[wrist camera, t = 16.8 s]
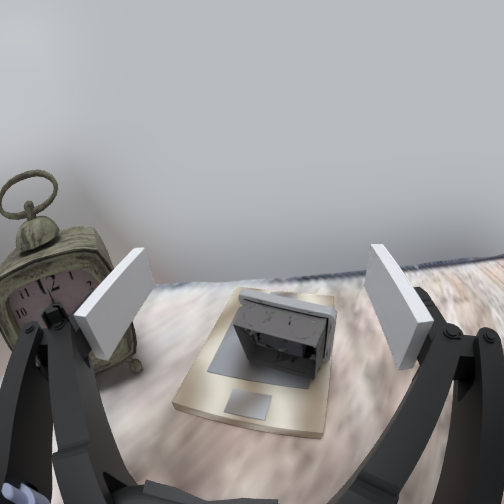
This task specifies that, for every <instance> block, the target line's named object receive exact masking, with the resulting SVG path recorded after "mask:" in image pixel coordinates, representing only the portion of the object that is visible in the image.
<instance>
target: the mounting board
mask: <svg viewBox="0 0 504 504" xmlns="http://www.w3.org/2000/svg"><path fill="white" fill-rule="evenodd" d="M243 289H245V288H244V287H236V289H235V291H234V292H233V294H232V296H231V298H230V300H229V301H228V303H227V305H226V307H225V308H224V310H223V312H222V314H221V315H220V317H219V319H218V321H217V323H216V324H215V326H214V328H213V330H212V331H211V333H210V335H209V337H208V338H207V340H206V342H205V344H204V345H203V347H202V349H201V351H200V353H199V354H198V356H197V358H196V360H195V361H194V363H193V365H192V367H191V368H190V370H189V372H188V374H187V375H186V377H185V379H184V381H183V382H182V384H181V386H180V388H179V389H178V391H177V393H176V395H175V396H174V398H173V400H172V404H173V405H174V407H175V409H177V410H180V411H183V412H187V413H190V414H193V415H196V416H200V417H203V418H207V419H210V420H214V421H218V422H222V423H226V424H230V425H234V426H239V427H243V428H248V429H253V430H258V431H264V432H270V433H276V434H282V435H289V436H297V437H306V438H316V439H321V436H322V434H323V429H324V422H325V414H326V406H327V398H328V388H329V378H330V367H331V357H330V360H328V361H322V362H321V365H320V369H319V370H318V372H317V374H316V377H315V379H314V380H312V379H309V378H305V377H301V376H297V375H294V374H290V373H286V372H283V371H279V370H276V369H273V368H269V367H266V366H263V365H260V364H256V363H253V362H250V361H249V360H250V358H251V357H250V358H249V360H248V359H247V357H246V354H245V352H244V350H243V347H242V345H241V343H240V340H239V338H238V336H237V333H236V331H235V329H234V326H233V324H234V322H235V320H236V318H237V316H238V315H239V311H240V308H241V307H242V305H241V304H240V302H239V299H238V296H239V294H240V292H241V291H242V290H243ZM247 289H251V290H255V291H260V292H264V293H268V294H273V295H277V296H282V297H286V298H291V299H296V300H300V301H305V302H310V303H315V304H319V305H324V306H329V307H333V308H334V296H326V295H314V294H303V293H292V292H282V291H272V290H262V289H253V288H247ZM245 330H246V329H245ZM277 351H278V350H277ZM331 353H332V352H331ZM278 357H279V352H278ZM278 357H277V360H278ZM290 357H291V355H289V354H286V353H283V356H282V360H284V361H288V360H289V358H290ZM296 358H297V357H295V358H294V360H295V359H296ZM294 360H293V361H292V364H293V362H294ZM310 360H311V359H310ZM275 361H276V360H275ZM315 362H316V360H315ZM268 364H269V363H268ZM311 366H312V365H311ZM293 369H294V368H293ZM294 370H295V369H294ZM301 373H303V372H301Z"/></svg>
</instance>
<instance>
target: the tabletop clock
mask: <svg viewBox="0 0 504 504" xmlns="http://www.w3.org/2000/svg"><path fill="white" fill-rule="evenodd" d="M35 176H39V177H44V178H46V179H48V180H50V181H51V182H52V183H53V186H54V191H53V194H52V195H51V196H50V197H49V199H47V200H46V201H45V202H44V203H42V204H41V205H38V206H36V207H34V205H33V202H32V201H27V202H26V203H25V204H24V209H25V211H23V212H20V213H9V212H6V211H4V210H3V208H2V204H1V202H2V198H3V196H4V194H5V192H6V191H7V190H8V189H9V188H10V187H11V186H12V185H13V184H15V183H17V182H19V181H21V180H24V179H27V178H30V177H35ZM57 191H58V184H57V182H56V180H55V178H54V177H53V176H52V175H51V174H50V173H48V172H46V171H42V170H31V171H27V172H24V173H21V174H19V175H16V176H15V177H13V178H12V179H10V180H9V181H8V182H7V183H6V184H5V185H4V186H3V187H2V189H1V191H0V213H1V214H2V215H3V216H4V217H6V218H8V219H15V220H19V219H24V218H27V221H26V222H24V223H23V224H22V225H21V227H20V229H19V230H18V233H17V237H16V248H15V249H14V250H13V251H11V252H10V253H9V254H8V255H7V256H6V258H5V259H4V260H3V262H2V264H1V265H0V332H1V334H2V336H3V338H4V340H5V342H6V343H7V345H8V347H9V348H10V350H11V351H13V348H14V346H15V343H16V341H17V338H18V336H19V333H20V331H21V329H22V327H23V326H24V325H25V324H26V323H28V322H31V321H37V322H38V323H39V325H40V327H41V328H47V326H46V324H45V323H44V321H43V319H42V317H41V314H42V312H43V311H44V309H46V308H47V307H48V306H50V305H52V304H56V303H58V304H62V305H63V307H64V309H65V312H66V314H67V316H68V317H69V316H70V314H71V313H72V312H73V311H74V310H75V309H76V307H77V306H78V305H79V304H81V302H82V300H83V299H85V297H86V296H87V295H88V294H89V293H90V292H91V291H92V290H94V289H95V288H97V287H98V286H99V285H100V284H101V283H102V282H103V281H104V279H105V278H106V277H107V276H108V275H109V274H110V273H111V272H112V271H113V270H114V267H113V265H112V262H111V260H110V257H109V254H108V251H107V249H106V247H105V245H104V243H103V241H102V239H101V238H100V236H99V235H98V233H97V232H96V231H95V229H94V228H91V227H83V226H81V227H72V228H67V229H63V230H60V229H59V228H58V226H57V225H56V223H55V222H54V221H53V220H52V219H50V218H49V217H47V216H38V217H36V214H38V213H39V212H41V211H43V210H44V209H45V208H47V207H48V206H49V205H50V204H51V203H52V202H53V200H54V198H55V197H56V195H57ZM59 230H60V231H59ZM136 345H137V341H136V334H135V329H134V325H133V322H131V324H130V325H129V327H128V329H127V330H126V332H125V333H124V335H123V337H122V338H121V340H120V342H119V343H118V345H117V347H116V348H115V350H114V352H113V353H112V355H111V357H110V358H109V360H108V361H107V360H103V359H99V358H96V356H95V355H94V353H93V351H92V350H91V351H90V353H89V354H88V355H89V356H90V358H91V361H92V365H93V370H94V374H95V375H97V374H99V373H102V372H104V371H106V370H109V369H111V368H113V367H115V366H118V365H120V364H122V363H123V362H125V361H128V362H129V363H130V368H131V370H132V371H134V372H139V371H140V370H141V369H142V363H141V362H140V361H139V360H137V359H133V360H132V359H131V358H130V357H132V356H133V355H134V354H135V353H136ZM35 362H36V366H38V361H37V360H35Z"/></svg>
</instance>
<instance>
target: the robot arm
mask: <svg viewBox="0 0 504 504" xmlns="http://www.w3.org/2000/svg"><path fill="white" fill-rule="evenodd" d="M364 286H365V289H366V291H367V293H368V296H369V298H370V300H371V303H372V305H373V307H374V310H375V312H376V315H377V317H378V319H379V322H380V324H381V327H382V330H383V332H384V335H385V337H386V340H387V343H388V345H389V348H390V351H391V353H392V356H393V359H394V362H395V365H396V367H397V370H403V369H409V368H413V366H414V364H415V362H416V360H418V362H419V365H420V366H419V368H418V370H417V372H416V374H415V376H414V377H413V379H412V382H411V384H410V386H409V388H408V390H407V392H406V394H405V396H404V398H403V400H402V402H401V403H400V405H399V407H398V409H397V410H396V412H395V414H394V416H393V417H392V419H391V421H390V422H389V424H388V425H387V427H386V429H385V430H384V432H383V433H382V435H381V436H380V438H379V439H378V441H377V442H376V444H375V445H374V447H373V448H372V450H371V451H370V452H369V454H368V455H367V457H366V458H365V459H364V461H363V462H362V463H361V465H360V466H359V467H358V469H357V470H356V471H355V472H354V474H353V475H352V476H351V477H350V479H349V480H348V481H347V482H346V483H345V485H344V486H343V487H342V488H341V489H340V490H339V492H338V493H337V494H336V495H335V496H334V497H333V498H332V499H331V500H330V501H329V502H328V503H327V504H397V503H398V500H399V493H400V491H401V489H402V488H403V486H404V484H405V483H406V481H407V480H408V478H409V476H410V475H411V473H412V471H413V469H414V468H415V466H416V464H417V462H418V460H419V459H420V457H421V455H422V453H423V451H424V449H425V447H426V445H427V443H428V441H429V439H430V437H431V434H432V432H433V430H434V428H435V426H436V423H437V421H438V419H439V416H440V414H441V411H442V409H443V406H444V403H445V401H446V398H447V395H448V392H449V389H450V387H451V383H452V380H454V388H453V402H452V413H451V421H450V429H449V436H448V442H447V447H446V452H445V457H444V462H443V466H442V471H441V475H440V479H439V482H438V486H437V489H436V493H435V496H434V499H433V502H432V504H501V501H502V496H503V491H504V355H503V349H502V344H501V339H500V337H499V335H498V334H497V332H496V331H494V330H493V329H490V328H487V327H483V328H481V329H480V330H479V331H478V333H477V335H476V336H470V335H464V334H463V332H462V330H461V329H460V328H459V327H457V326H456V325H454V324H450V323H447V322H446V321H445V319H444V318H443V316H442V314H441V313H440V311H439V310H438V308H437V307H436V306H435V304H434V302H433V301H432V300H431V298H430V296H429V295H428V293H427V292H426V291H424V290H423V289H422V288H420V287H413V286H412V285H411V283H410V282H409V280H408V279H407V277H406V276H405V274H404V273H403V271H402V270H401V269H400V267H399V266H398V264H397V263H396V262H395V260H394V259H393V257H392V256H391V255H390V253H389V252H388V250H387V249H386V248H385V246H384V245H383V244H371V246H370V254H369V260H368V266H367V272H366V278H365V284H364ZM154 287H155V285H154V281H153V278H152V274H151V270H150V266H149V263H148V259H147V255H146V250H145V248H134V249H133V250H132V251H131V252H130V253H129V254H128V255H127V256H126V257H125V258H124V259H123V260H122V261H121V263H119V265H117V267H116V268H115V269H114V270H113V271H112V272H111V273H110V274H109V275H108V276H107V277H106V278H105V279H104V281H103V282H102V283H101V284H100V285H99V286H98V287H97V288H95V289H94V290H92V291H91V292H90V293H89V294H88V295H87V296H86V297H85V299H83V300H82V302H81V304H79V305H78V306H77V307H76V309H75V310H74V311H73V312H72V313H71V314H70V316H69V317H68V316H67V314H66V312H65V309H64V307H63V305H62V304H58V303H56V304H52V305H50V306H48V307H47V308H46V309H44V311H43V312H42V314H41V317H42V319H43V321H44V323H45V324H46V326H47V328H41V327H40V325H39V323H38V322H37V321H31V322H28V323H26V324H25V325H24V326H23V327H22V329H21V331H20V333H19V336H18V338H17V341H16V343H15V346H14V348H13V351H12V354H11V357H10V360H9V362H8V365H7V369H6V372H5V375H4V378H3V381H2V385H1V389H0V504H51V499H52V463H53V467H54V471H55V475H56V479H57V483H58V486H59V490H60V493H61V496H62V499H63V502H64V504H278V499H251V498H239V499H230V500H218V501H206V500H203V499H200V498H198V497H195V496H193V495H191V494H188V493H186V492H184V491H182V490H180V489H178V488H175V487H172V486H168V485H164V484H160V483H156V482H153V481H149V480H146V481H145V484H144V485H138V484H137V483H136V481H135V480H134V479H133V477H132V476H131V475H130V474H129V472H128V471H127V469H126V467H125V465H124V462H123V460H122V458H121V455H120V453H119V450H118V448H117V445H116V443H115V440H114V437H113V435H112V432H111V429H110V426H109V423H108V420H107V417H106V414H105V411H104V407H103V404H102V401H101V397H100V393H99V390H98V386H97V382H96V378H95V374H94V370H93V365H92V361H91V358H90V356H89V355H88V354H89V353H90V351H91V350H92V351H93V353H94V355H95V356H96V358H99V359H103V360H107V361H108V360H109V358H110V357H111V355H112V353H113V352H114V350H115V348H116V347H117V345H118V343H119V342H120V340H121V338H122V337H123V335H124V333H125V332H126V330H127V329H128V327H129V325H130V324H131V322H132V321H133V319H134V317H135V316H136V314H137V313H138V311H139V310H140V308H141V306H142V305H143V303H144V302H145V300H146V299H147V297H148V296H149V294H150V293H151V291H152V290H153V288H154ZM35 360H37V361H38V366H36V362H35ZM53 423H54V430H55V435H56V441H57V446H58V452H55V453H53V454H52V434H53Z"/></svg>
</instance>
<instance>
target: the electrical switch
mask: <svg viewBox="0 0 504 504" xmlns="http://www.w3.org/2000/svg"><path fill="white" fill-rule="evenodd" d="M238 299H239V302H240V304H241V305H242V307H241V308H240V311H239V315H238V316H237V318H236V320H235V322H234V324H233V326H234V329H235V331H236V333H237V336H238V338H239V340H240V343H241V345H242V347H243V350H244V352H245V354H246V357H247V359H248V360H249V358H250V357H251V358H250V360H249V361H250V362H253V363H256V364H260V365H263V366H266V367H269V368H273V369H276V370H279V371H283V372H286V373H290V374H294V375H297V376H301V377H305V378H309V379H312V380H314V379H315V377H316V374H317V372H318V370H319V369H320V365H321V362H322V361H328V360H330V357H331V352H332V346H333V339H334V332H335V325H336V317H337V311H336V310H335V309H334V308H333V307H329V306H324V305H319V304H315V303H310V302H305V301H300V300H296V299H291V298H286V297H282V296H277V295H273V294H268V293H264V292H260V291H255V290H251V289H247V288H245V289H243V290H242V291H241V292H240V294H239V296H238ZM245 329H246V330H245ZM277 350H278V351H277ZM278 352H279V357H278ZM283 353H286V354H289V355H291V357H290V358H289V360H288V361H284V360H282V356H283ZM277 357H278V360H277ZM295 357H297V358H296V359H295V360H294V358H295ZM310 359H311V360H310ZM275 360H276V361H275ZM293 360H294V362H293V364H292V361H293ZM315 360H316V362H315ZM268 363H269V364H268ZM311 365H312V366H311ZM293 368H294V369H295V370H294V369H293ZM301 372H303V373H301Z"/></svg>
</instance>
